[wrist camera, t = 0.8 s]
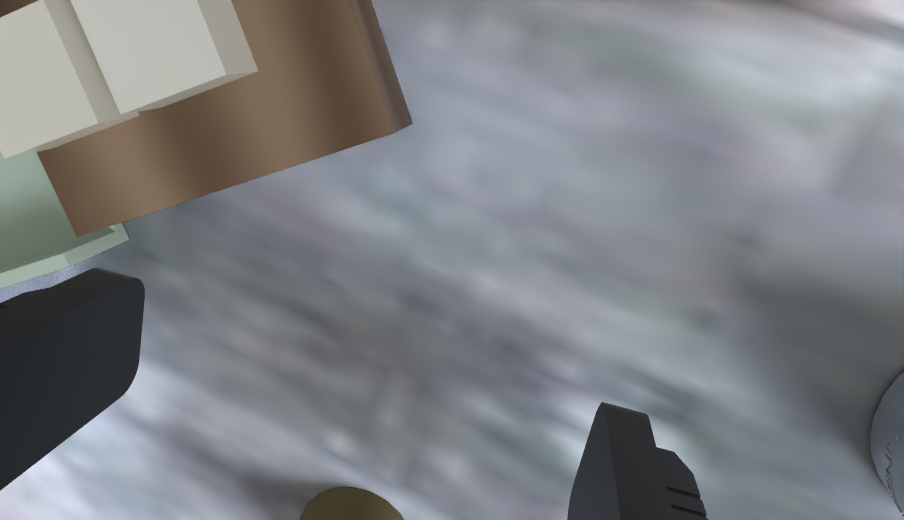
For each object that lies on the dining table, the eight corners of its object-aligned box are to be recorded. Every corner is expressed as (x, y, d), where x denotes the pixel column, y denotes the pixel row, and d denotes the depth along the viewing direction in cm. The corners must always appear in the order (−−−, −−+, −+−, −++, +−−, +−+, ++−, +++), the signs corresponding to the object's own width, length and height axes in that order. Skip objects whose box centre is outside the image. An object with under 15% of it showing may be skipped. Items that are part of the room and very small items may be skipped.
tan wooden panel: (307, -186, 26) (274, -213, 23) (412, 123, 29) (394, 133, 26) (1, -41, 30) (-59, -49, 27) (120, 219, 33) (77, 237, 30)
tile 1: (211, -51, 25) (172, -60, 23) (258, 71, 26) (226, 74, 24) (111, -8, 26) (65, -12, 24) (160, 107, 27) (120, 114, 25)
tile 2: (90, 1, 27) (42, -2, 24) (139, 115, 28) (98, 122, 25) (0, 40, 28) (-53, 41, 26) (51, 148, 29) (3, 158, 27)
